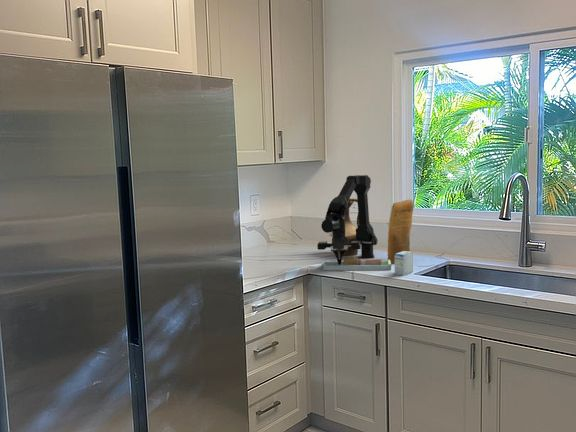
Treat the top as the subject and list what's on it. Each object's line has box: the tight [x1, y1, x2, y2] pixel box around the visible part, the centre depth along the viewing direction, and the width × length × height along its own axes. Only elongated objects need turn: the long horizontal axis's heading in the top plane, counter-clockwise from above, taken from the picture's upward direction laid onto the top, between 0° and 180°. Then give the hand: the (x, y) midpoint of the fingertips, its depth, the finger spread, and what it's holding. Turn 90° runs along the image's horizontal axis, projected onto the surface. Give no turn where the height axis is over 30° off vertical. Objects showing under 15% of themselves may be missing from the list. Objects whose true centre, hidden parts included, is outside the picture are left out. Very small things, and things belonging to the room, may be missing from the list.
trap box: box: [320, 258, 392, 271], centre depth 255 cm, size 14×30×2 cm, turn 82°
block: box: [342, 256, 359, 265], centre depth 254 cm, size 5×6×4 cm
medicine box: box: [394, 251, 414, 276], centre depth 239 cm, size 8×4×9 cm, turn 141°
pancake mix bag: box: [387, 199, 414, 265], centre depth 262 cm, size 7×19×28 cm, turn 132°
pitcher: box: [328, 197, 359, 257], centre depth 286 cm, size 18×17×28 cm
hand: (339, 264), depth 254 cm, fingers closed
